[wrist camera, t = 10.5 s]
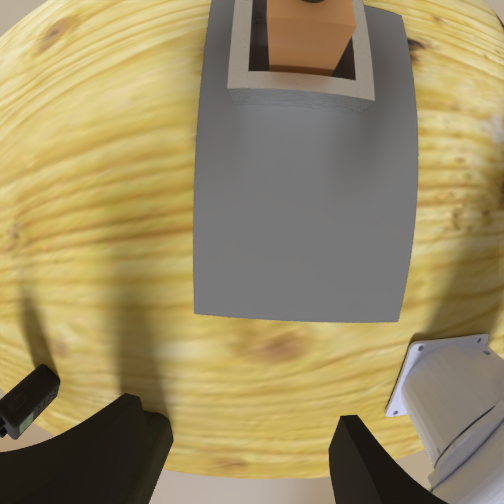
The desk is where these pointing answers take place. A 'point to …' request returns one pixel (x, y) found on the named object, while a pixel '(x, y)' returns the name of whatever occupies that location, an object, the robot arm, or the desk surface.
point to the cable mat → (305, 191)
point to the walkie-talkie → (27, 401)
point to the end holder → (296, 84)
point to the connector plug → (308, 34)
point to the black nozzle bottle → (148, 461)
